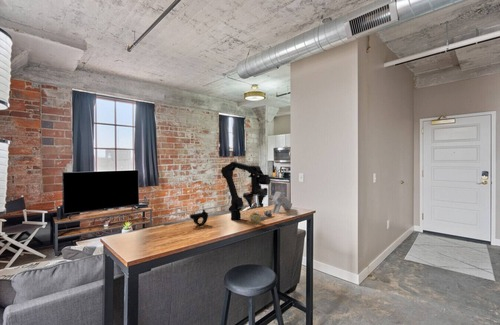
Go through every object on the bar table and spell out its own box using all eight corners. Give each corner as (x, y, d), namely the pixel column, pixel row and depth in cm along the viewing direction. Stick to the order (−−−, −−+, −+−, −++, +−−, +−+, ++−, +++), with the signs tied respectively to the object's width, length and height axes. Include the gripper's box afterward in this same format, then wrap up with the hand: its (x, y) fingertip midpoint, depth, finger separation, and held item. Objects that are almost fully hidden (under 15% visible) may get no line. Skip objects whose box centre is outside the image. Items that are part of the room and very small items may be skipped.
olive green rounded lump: (260, 223, 168) (260, 213, 168) (256, 224, 166) (256, 214, 166) (254, 221, 173) (254, 212, 173) (250, 222, 170) (250, 213, 170)
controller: (209, 224, 166) (208, 209, 166) (191, 227, 159) (191, 212, 159) (206, 223, 169) (206, 208, 169) (189, 226, 163) (188, 211, 163)
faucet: (292, 203, 210) (281, 190, 199) (285, 220, 203) (273, 208, 191) (286, 202, 214) (275, 190, 203) (279, 219, 207) (267, 207, 196)
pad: (262, 220, 175) (262, 219, 175) (256, 218, 180) (256, 218, 180) (269, 218, 181) (269, 217, 181) (263, 216, 185) (263, 216, 185)
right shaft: (268, 217, 183) (268, 211, 183) (264, 217, 185) (264, 210, 185) (272, 215, 188) (272, 209, 188) (268, 215, 190) (268, 209, 190)
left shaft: (252, 221, 173) (252, 214, 173) (249, 220, 176) (249, 213, 176) (259, 219, 176) (259, 213, 176) (256, 218, 179) (256, 212, 179)
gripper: (254, 186, 157) (254, 210, 157) (273, 183, 170) (273, 206, 170) (242, 184, 165) (242, 208, 165) (261, 182, 178) (261, 204, 178)
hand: (255, 206), depth 169 cm, fingers open, 9 cm apart
